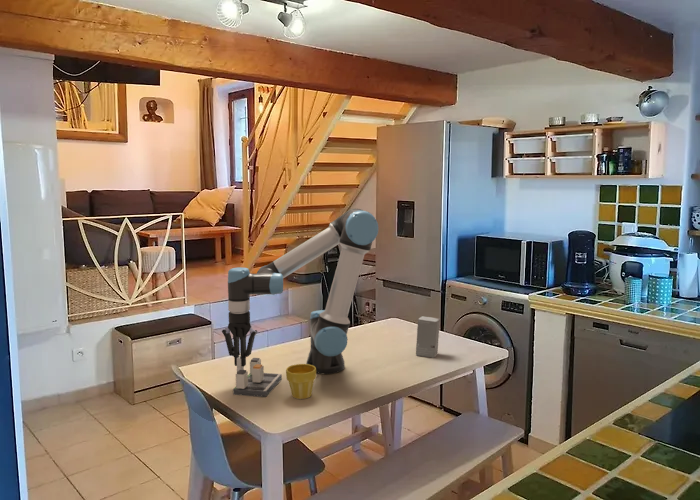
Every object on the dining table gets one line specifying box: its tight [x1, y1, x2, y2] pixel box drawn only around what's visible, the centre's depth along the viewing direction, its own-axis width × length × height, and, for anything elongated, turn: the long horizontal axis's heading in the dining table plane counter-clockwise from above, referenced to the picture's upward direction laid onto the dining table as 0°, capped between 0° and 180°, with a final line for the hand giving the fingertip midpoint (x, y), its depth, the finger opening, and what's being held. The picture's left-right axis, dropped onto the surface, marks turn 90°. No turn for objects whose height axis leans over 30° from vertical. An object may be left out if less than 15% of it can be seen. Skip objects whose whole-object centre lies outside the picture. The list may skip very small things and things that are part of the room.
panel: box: [232, 372, 283, 398], centre depth 201 cm, size 12×17×2 cm
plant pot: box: [285, 363, 317, 400], centre depth 193 cm, size 10×10×10 cm
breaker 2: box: [249, 357, 262, 375], centre depth 208 cm, size 3×4×6 cm
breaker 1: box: [235, 369, 249, 389], centre depth 195 cm, size 3×4×6 cm
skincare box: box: [415, 315, 441, 359], centre depth 236 cm, size 8×7×16 cm
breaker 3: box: [252, 363, 265, 383], centre depth 201 cm, size 3×4×6 cm
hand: (240, 374), depth 202 cm, fingers closed
